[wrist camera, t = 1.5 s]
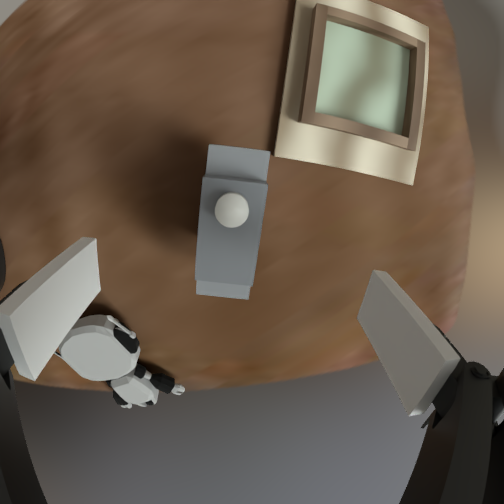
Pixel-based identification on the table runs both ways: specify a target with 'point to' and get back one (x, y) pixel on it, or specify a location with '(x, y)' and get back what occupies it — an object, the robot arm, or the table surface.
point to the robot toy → (113, 360)
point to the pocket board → (354, 88)
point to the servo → (230, 220)
